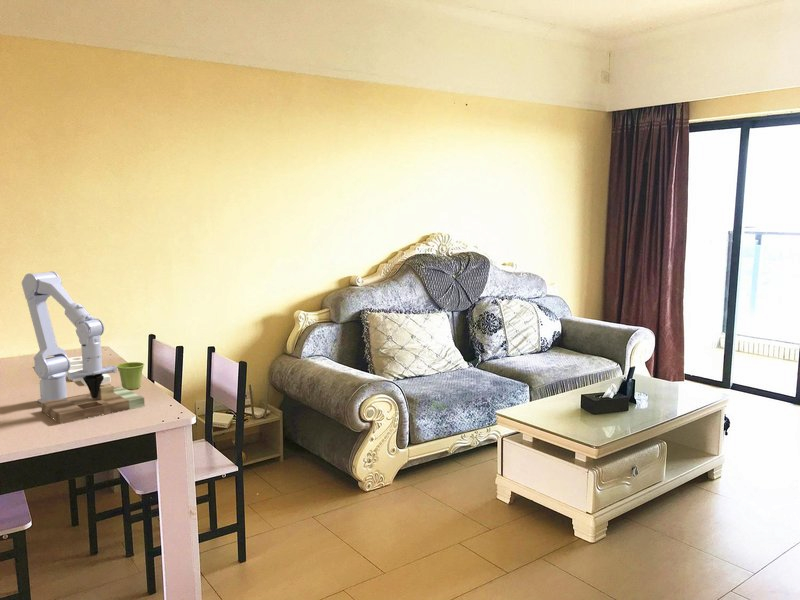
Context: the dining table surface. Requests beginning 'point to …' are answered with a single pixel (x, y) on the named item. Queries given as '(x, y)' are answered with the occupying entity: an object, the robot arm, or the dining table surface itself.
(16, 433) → the dining table surface
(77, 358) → the holder
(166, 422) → the dining table surface
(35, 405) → the dining table surface
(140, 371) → the plant pot
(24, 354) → the dining table surface
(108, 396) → the maple block
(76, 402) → the trap board
